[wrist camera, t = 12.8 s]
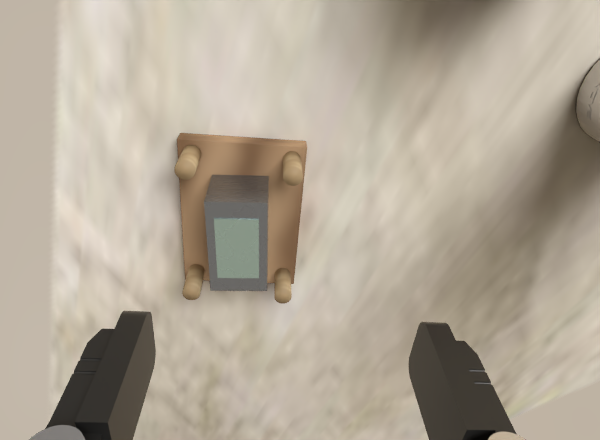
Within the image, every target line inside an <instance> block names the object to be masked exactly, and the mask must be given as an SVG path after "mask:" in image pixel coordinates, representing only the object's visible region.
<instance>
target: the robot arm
mask: <svg viewBox="0 0 600 440" xmlns="http://www.w3.org/2000/svg"><path fill="white" fill-rule="evenodd" d="M576 112H577V119H578V121H579V124H580V126H581V128H582V129H583V130H584V131H585V132H586V134H588V135H589V136H591V137H592V138H594V139H596V140H597V141H599V142H600V60H599V61H598V62H597V63H596V64H595V65H594V66H593V67H592V69H591V70H590V72H589V73H588V74H587V76H586V77H585V79H584V81H583V83H582V85H581V87H580V91H579V94H578V97H577V105H576ZM154 363H155V340H154V332H153V323H152V315H151V313H150V312H140V311H123V312H122V314H121V316H120V318H119V320H118V322H117V325H116V327H115V329H101V330H100V331H99V332H98V333H97V334H96V335H95V336H94V337H93V338H92V339H91V340H90V341H89V342H88V343H87V345H86V347H85V349H84V351H83V354H82V356H81V358H80V361H79V362H78V364H77V366H76V368H75V370H74V374H72V376H71V378H70V380H69V383H68V385H67V387H66V389H65V391H64V393H63V395H62V397H61V399H60V401H59V403H58V405H57V407H56V409H55V411H54V414H53V416H52V418H51V420H50V422H49V423H48V425H47V427H46V428H45V429H44V430H42V431H40V432H38V433H37V434H35V435H34V436H33V437H31V438H30V439H29V440H133V436H134V433H135V430H136V426H137V423H138V420H139V416H140V413H141V409H142V406H143V403H144V399H145V396H146V393H147V389H148V386H149V382H150V379H151V376H152V372H153V369H154ZM409 374H410V379H411V382H412V385H413V389H414V392H415V395H416V398H417V402H418V405H419V408H420V411H421V415H422V418H423V421H424V424H425V428H426V431H427V434H428V437H429V440H526V439H524V438H523V437H521V436H519V435H517V434H516V432H515V430H514V428H513V426H512V424H511V422H510V420H509V418H508V416H507V414H506V412H505V410H504V408H503V406H502V404H501V402H500V400H499V398H498V396H497V394H496V392H495V390H494V387H493V385H491V381H490V379H489V377H488V375H487V373H485V369H484V367H483V365H482V363H481V361H480V359H479V357H478V355H477V354H476V353H475V352H474V351H473V350H472V348H471V347H470V346H469V345H468V344H467V343H466V342H465V341H456V340H455V338H454V336H453V334H452V331H451V329H450V327H449V325H448V324H447V323H433V322H421V323H420V325H419V327H418V330H417V333H416V337H415V340H414V343H413V347H412V350H411V354H410V357H409Z"/></svg>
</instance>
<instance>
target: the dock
mask: <svg viewBox="0 0 600 440" xmlns="http://www.w3.org/2000/svg"><path fill="white" fill-rule="evenodd" d="M177 146H178V162H177V164H176V166H175V173H176V175H177V176H178V177H179V180H180V197H181V215H182V232H183V249H184V266H185V279H186V281H185V285H184V288H183V292H182V294H183V296H184V297H185V298H186V299H189V300H195V299H197V298H198V297H199V296H200V291H201V287H202V282H203V280H210V276H209V262H208V249H207V236H206V222H205V209H204V200H205V197H206V193H207V190H208V186H209V183H210V180H211V176H212V175H256V176H269V205H268V273H267V283H275V300H276V301H277V302H279V303H287V302H289V301H290V300H291V284H294V274H295V264H296V254H297V244H298V233H299V223H300V213H301V203H302V193H303V183H304V173H305V162H306V152H307V144H306V141H295V140H279V139H264V138H249V137H234V136H218V135H203V134H188V133H180V135H179V137H178V139H177Z"/></svg>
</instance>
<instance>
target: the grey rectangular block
mask: <svg viewBox="0 0 600 440" xmlns="http://www.w3.org/2000/svg"><path fill="white" fill-rule="evenodd" d="M268 205H269V176H256V175H212V176H211V180H210V183H209V186H208V190H207V193H206V197H205V200H204V209H205V222H206V236H207V249H208V262H209V276H210V289H211V290H215V291H267V273H268Z"/></svg>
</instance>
